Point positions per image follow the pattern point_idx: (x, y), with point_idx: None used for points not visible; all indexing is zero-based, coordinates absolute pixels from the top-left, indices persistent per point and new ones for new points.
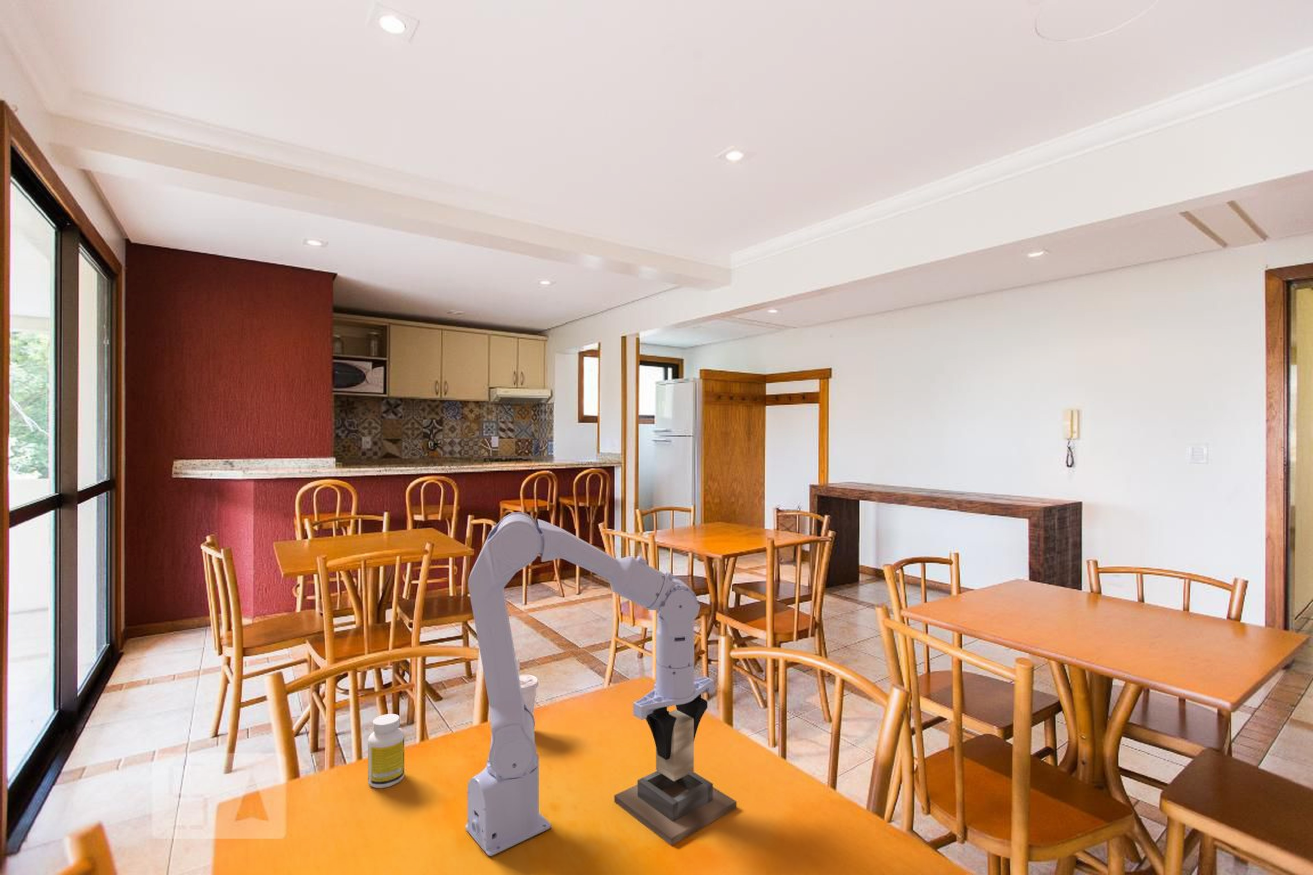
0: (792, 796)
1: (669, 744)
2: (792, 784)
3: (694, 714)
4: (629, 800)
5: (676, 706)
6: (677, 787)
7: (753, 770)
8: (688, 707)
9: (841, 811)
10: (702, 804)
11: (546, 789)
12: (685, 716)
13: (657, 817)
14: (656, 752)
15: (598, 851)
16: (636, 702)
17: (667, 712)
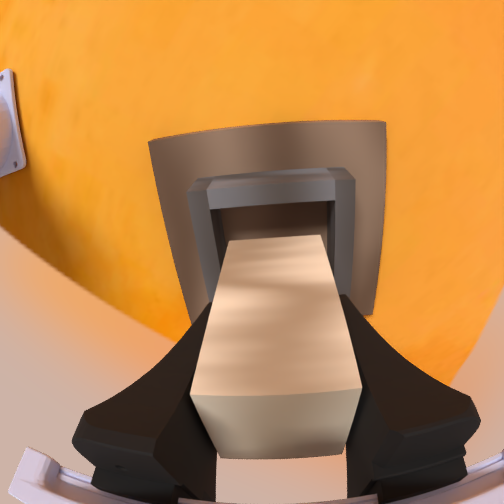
0: (453, 325)
1: None
2: (481, 303)
3: (348, 467)
4: (171, 182)
5: (372, 397)
6: (312, 205)
7: (488, 235)
8: (357, 469)
9: (451, 370)
10: None
11: (55, 30)
12: (331, 438)
13: (198, 270)
14: (220, 275)
15: (81, 259)
16: (22, 496)
17: (193, 498)
